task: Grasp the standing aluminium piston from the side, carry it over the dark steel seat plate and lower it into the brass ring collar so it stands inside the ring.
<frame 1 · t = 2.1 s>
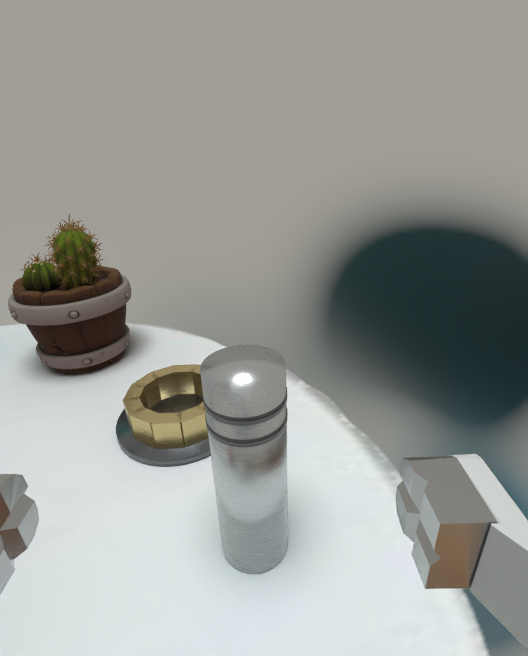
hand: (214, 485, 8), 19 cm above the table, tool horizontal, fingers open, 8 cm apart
flowerpot: (89, 357, 54), on the table
piston: (255, 540, 27), on the table
ring seat: (181, 420, 40), on the table
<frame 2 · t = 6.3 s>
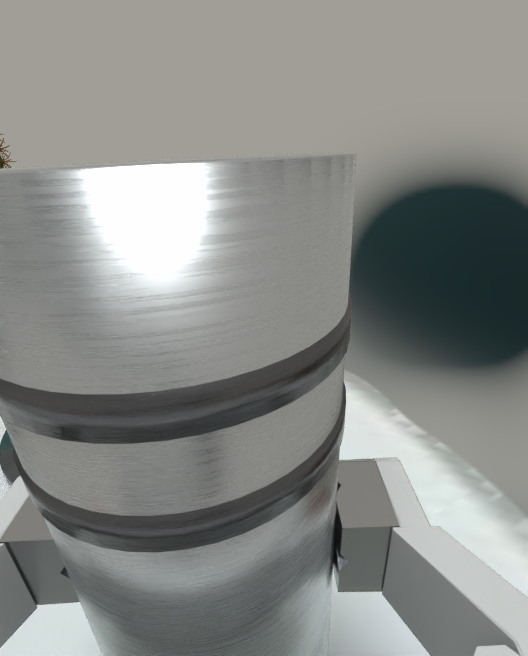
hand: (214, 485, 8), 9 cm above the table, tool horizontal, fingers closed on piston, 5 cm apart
ring seat: (123, 420, 24), on the table
when the fingers open (11 cm above the table, at t = 10.8 s): piston stays where it is, resting on ring seat.
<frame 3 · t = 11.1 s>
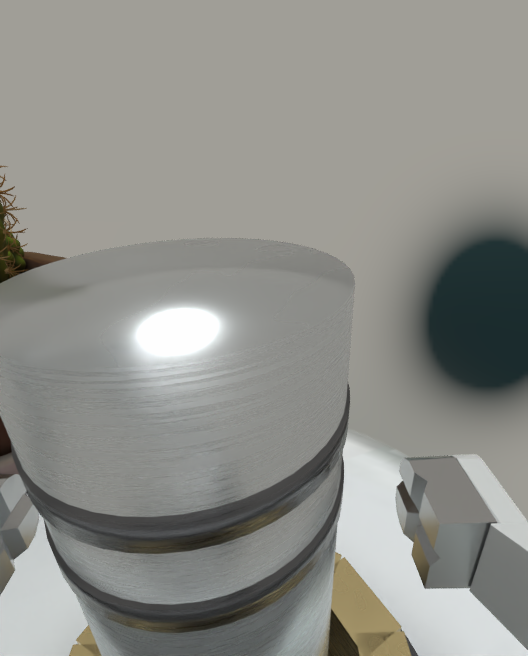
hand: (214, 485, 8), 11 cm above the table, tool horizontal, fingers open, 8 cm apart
flowerpot: (19, 444, 26), on the table
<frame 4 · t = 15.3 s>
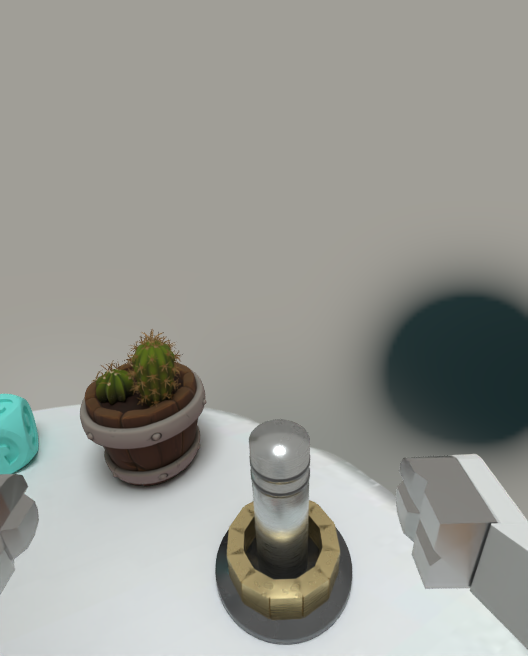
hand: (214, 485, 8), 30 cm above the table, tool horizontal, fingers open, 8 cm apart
decorative dice: (6, 459, 51), on the table
flowerpot: (157, 458, 50), on the table
piston: (282, 559, 36), point 1 cm above the table, touching ring seat
ring seat: (283, 564, 36), on the table
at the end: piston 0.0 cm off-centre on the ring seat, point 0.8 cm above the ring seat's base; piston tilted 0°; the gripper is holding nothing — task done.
